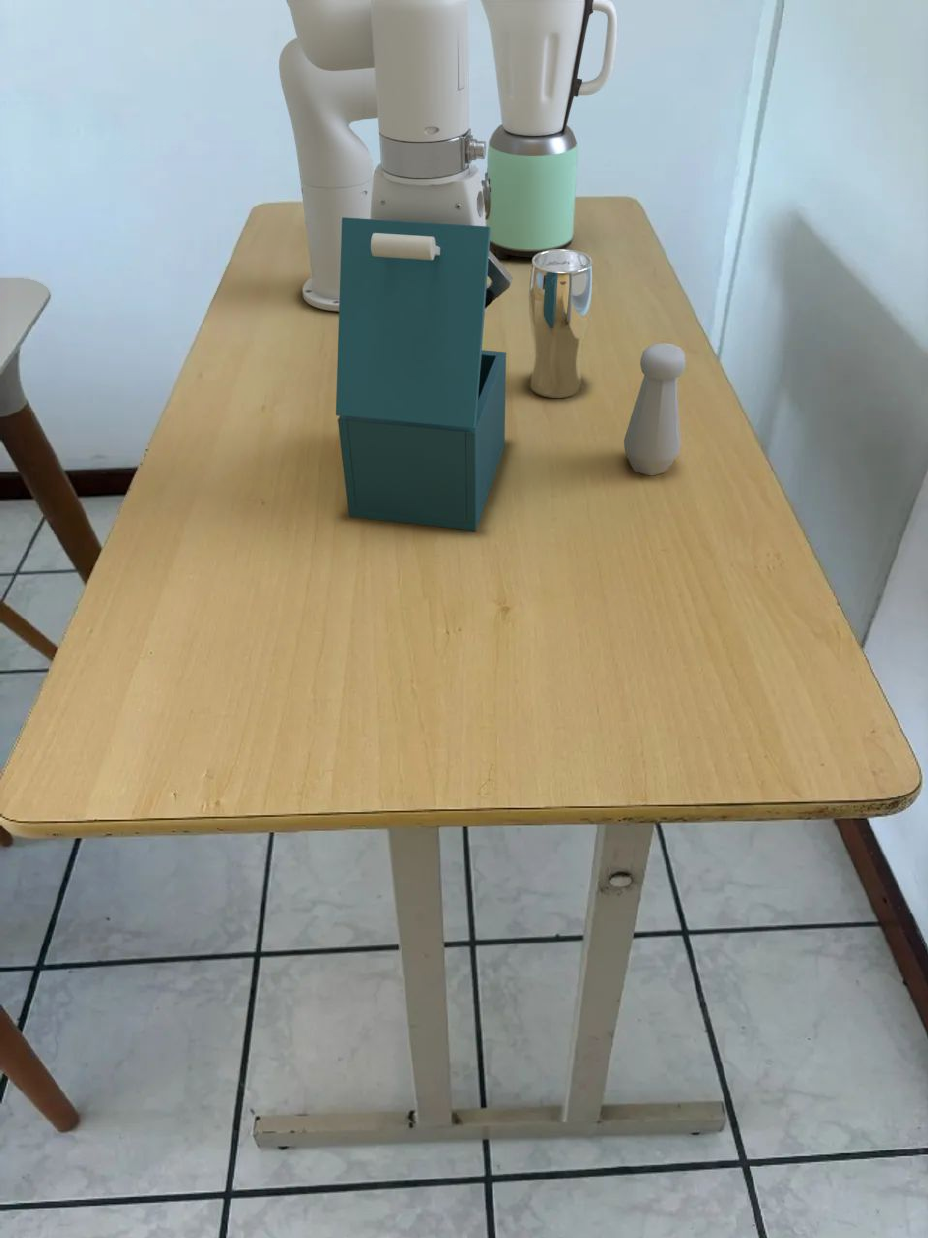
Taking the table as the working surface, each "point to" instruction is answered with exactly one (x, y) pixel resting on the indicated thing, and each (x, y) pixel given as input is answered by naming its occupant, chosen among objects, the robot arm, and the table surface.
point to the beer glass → (559, 319)
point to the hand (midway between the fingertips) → (432, 349)
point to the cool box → (427, 461)
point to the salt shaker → (656, 411)
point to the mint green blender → (537, 120)
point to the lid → (411, 320)
